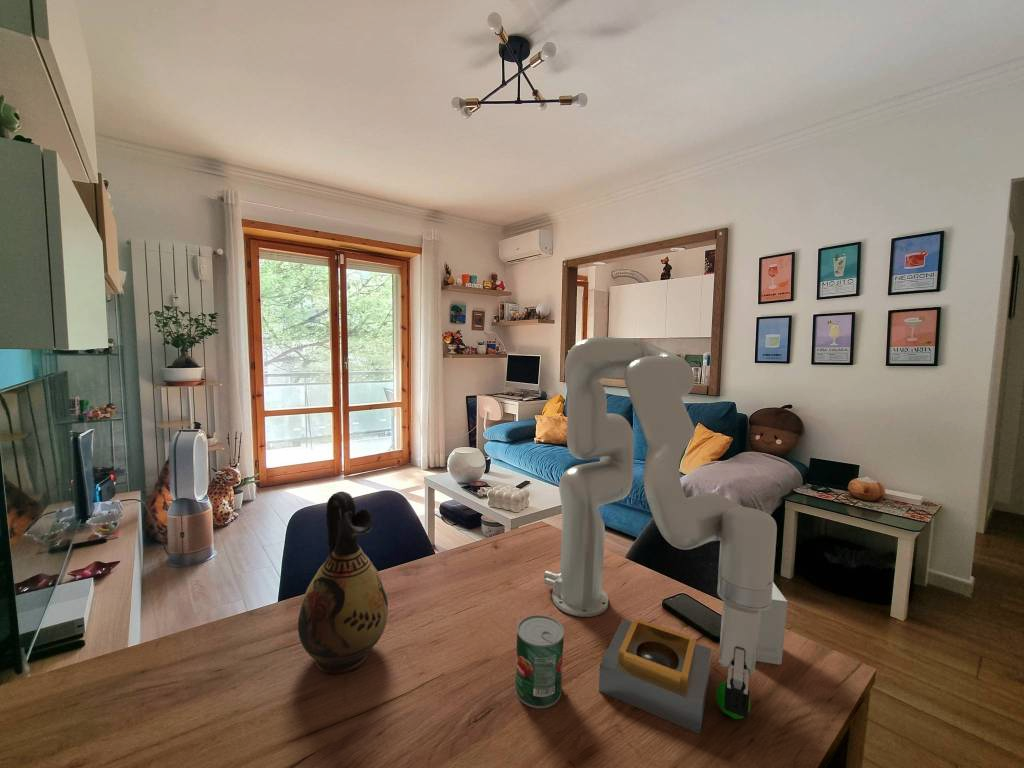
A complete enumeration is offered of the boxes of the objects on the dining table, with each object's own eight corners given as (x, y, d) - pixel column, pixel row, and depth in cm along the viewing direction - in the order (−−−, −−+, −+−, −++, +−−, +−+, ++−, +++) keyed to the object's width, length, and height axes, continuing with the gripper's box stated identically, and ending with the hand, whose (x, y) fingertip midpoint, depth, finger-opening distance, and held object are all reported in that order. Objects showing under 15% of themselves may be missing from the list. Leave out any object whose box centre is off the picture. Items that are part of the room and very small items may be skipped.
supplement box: (782, 666, 82) (789, 602, 81) (739, 659, 84) (745, 596, 83) (768, 639, 90) (774, 580, 88) (728, 633, 91) (733, 575, 90)
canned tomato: (505, 685, 76) (507, 625, 75) (540, 665, 81) (542, 608, 80) (535, 717, 70) (537, 652, 69) (571, 694, 74) (574, 633, 73)
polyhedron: (716, 695, 75) (719, 669, 75) (749, 708, 73) (752, 682, 72) (713, 717, 71) (715, 689, 70) (748, 731, 68) (750, 703, 68)
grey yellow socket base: (598, 691, 75) (600, 652, 74) (625, 634, 90) (627, 601, 89) (700, 734, 68) (703, 692, 67) (711, 664, 82) (713, 629, 82)
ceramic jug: (404, 654, 82) (405, 499, 79) (322, 703, 71) (318, 524, 68) (359, 613, 94) (358, 476, 91) (282, 650, 83) (277, 495, 79)
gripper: (721, 559, 79) (716, 650, 80) (712, 609, 64) (705, 720, 65) (770, 570, 75) (763, 665, 77) (773, 626, 60) (764, 743, 61)
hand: (737, 690), depth 71 cm, fingers open, 9 cm apart
